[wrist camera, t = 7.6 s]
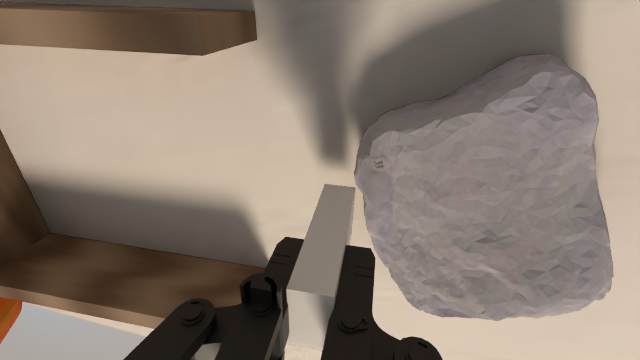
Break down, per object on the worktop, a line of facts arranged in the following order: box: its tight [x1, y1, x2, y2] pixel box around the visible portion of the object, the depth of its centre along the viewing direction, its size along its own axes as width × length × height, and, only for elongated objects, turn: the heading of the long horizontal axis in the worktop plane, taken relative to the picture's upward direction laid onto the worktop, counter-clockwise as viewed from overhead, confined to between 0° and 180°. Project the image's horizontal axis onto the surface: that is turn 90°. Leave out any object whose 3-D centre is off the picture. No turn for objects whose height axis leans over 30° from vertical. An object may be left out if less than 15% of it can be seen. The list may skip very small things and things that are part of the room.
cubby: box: [0, 3, 265, 329], centre depth 18 cm, size 19×17×5 cm
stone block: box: [354, 54, 613, 321], centre depth 16 cm, size 12×5×10 cm
